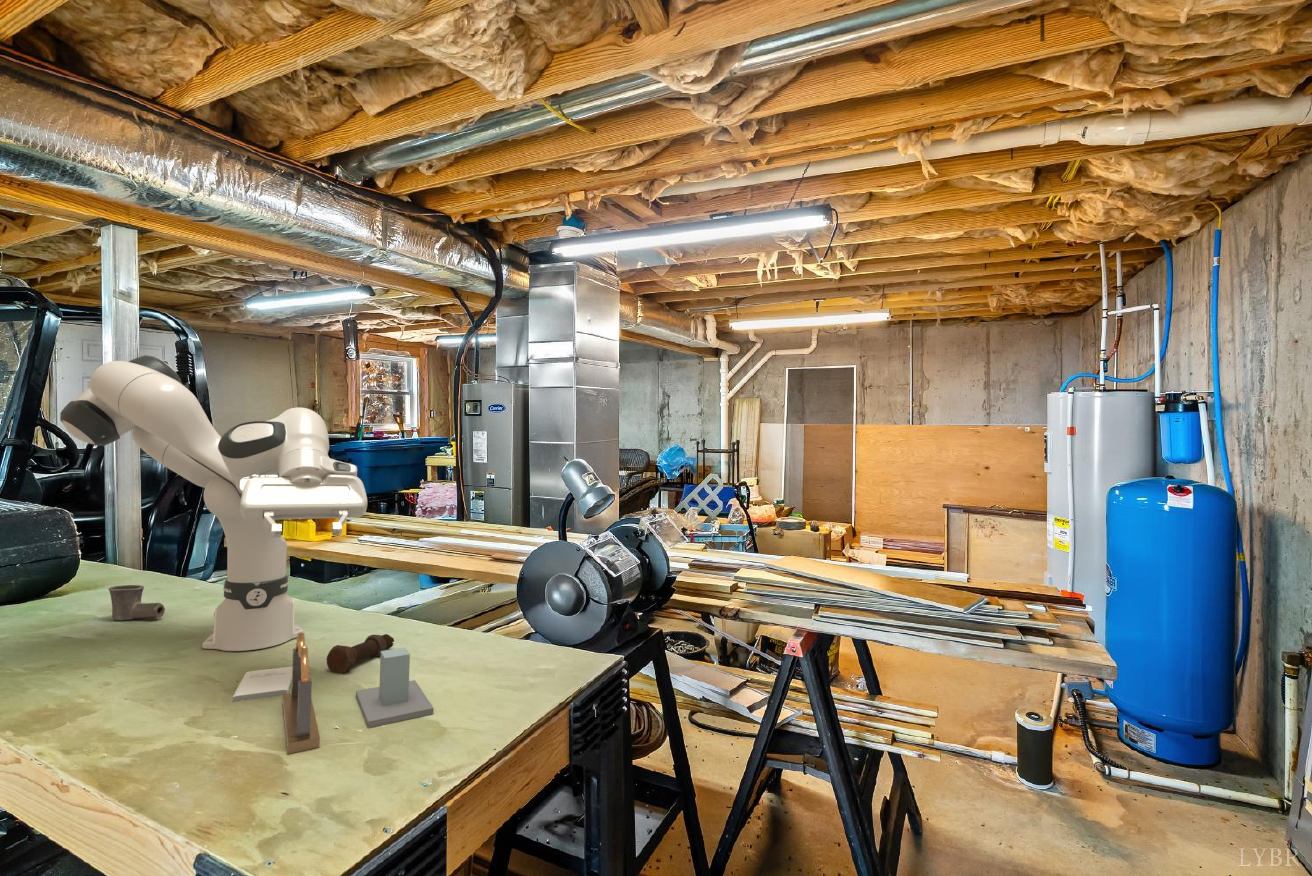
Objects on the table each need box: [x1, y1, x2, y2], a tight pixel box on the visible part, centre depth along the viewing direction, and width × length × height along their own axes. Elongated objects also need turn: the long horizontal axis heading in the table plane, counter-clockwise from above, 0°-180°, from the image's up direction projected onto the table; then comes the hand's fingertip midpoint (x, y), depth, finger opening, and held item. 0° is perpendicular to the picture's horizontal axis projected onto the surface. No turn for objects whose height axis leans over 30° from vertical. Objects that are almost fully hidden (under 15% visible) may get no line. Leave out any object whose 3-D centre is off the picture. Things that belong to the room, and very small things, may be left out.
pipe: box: [107, 584, 166, 622], centre depth 149 cm, size 6×13×8 cm, turn 89°
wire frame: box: [282, 631, 321, 755], centre depth 97 cm, size 20×4×14 cm, turn 34°
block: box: [378, 647, 411, 706], centre depth 104 cm, size 4×4×8 cm
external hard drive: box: [231, 666, 292, 703], centre depth 111 cm, size 2×8×12 cm
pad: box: [355, 679, 434, 729], centre depth 104 cm, size 14×10×1 cm
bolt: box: [326, 633, 395, 675], centre depth 125 cm, size 6×5×15 cm
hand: (307, 534), depth 107 cm, fingers open, 8 cm apart
